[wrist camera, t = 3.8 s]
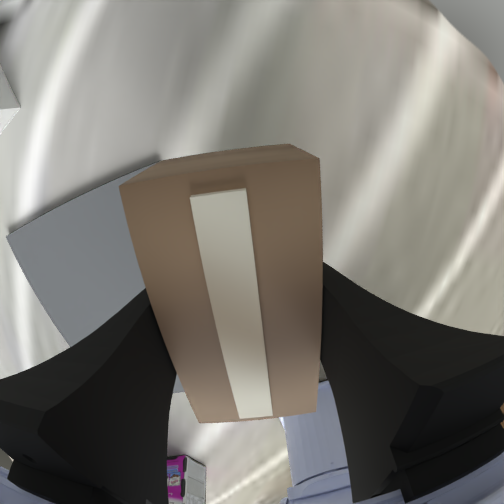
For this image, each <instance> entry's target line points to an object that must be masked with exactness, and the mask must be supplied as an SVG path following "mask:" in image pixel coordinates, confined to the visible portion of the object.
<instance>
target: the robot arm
mask: <svg viewBox="0 0 504 504" xmlns="http://www.w3.org/2000/svg"><path fill="white" fill-rule="evenodd" d="M320 360H321V362H322V365H323V368H324V370H325V373H326V376H327V378H328V381H324V382H321V383H318V396H317V408H316V412H313V413H307V414H301V415H294V416H287V417H279V419H280V421H281V423H282V425H283V428H284V430H285V434H286V442H287V449H288V456H289V463H290V471H291V478H292V485H293V487H289V488H287V492H288V497H285V498H282V499H281V501H280V502H279V504H504V428H503V427H502V425H501V422H503V420H504V414H503V412H502V411H501V409H500V407H501V406H502V405H503V403H504V336H498V335H491V334H484V333H477V332H472V331H467V330H463V329H459V328H454V327H450V326H447V325H443V324H440V323H437V322H434V321H431V320H428V319H425V318H422V317H419V316H417V315H414V314H412V313H409V312H407V311H405V310H403V309H401V308H398V307H396V306H394V305H392V304H390V303H388V302H386V301H384V300H382V299H380V298H379V297H377V296H375V295H373V294H372V293H370V292H368V291H367V290H365V289H363V288H362V287H360V286H358V285H357V284H355V283H354V282H352V281H351V280H349V279H348V278H346V277H345V276H343V275H342V274H341V273H339V272H338V271H336V270H335V269H333V268H332V267H330V266H329V265H327V264H326V263H324V262H323V288H322V328H321V350H320ZM176 376H177V372H176V370H175V367H174V365H173V362H172V360H171V357H170V355H169V352H168V350H167V347H166V345H165V342H164V339H163V337H162V334H161V331H160V328H159V326H158V323H157V320H156V317H155V314H154V311H153V309H152V306H151V303H150V300H149V297H148V294H147V290H146V288H145V289H144V290H142V291H141V292H140V293H139V294H138V295H137V296H135V297H134V298H133V299H132V300H131V301H130V302H129V303H128V304H126V305H125V306H124V307H123V308H122V309H121V310H120V311H118V312H117V313H116V314H115V315H114V316H112V317H111V318H110V319H109V320H107V321H106V322H105V323H104V324H103V325H101V326H100V327H99V328H98V329H96V330H95V331H94V332H92V333H91V334H90V335H88V336H87V337H85V338H84V339H82V340H81V341H79V342H78V343H76V344H75V345H73V346H72V347H70V348H68V349H66V350H65V351H63V352H61V353H59V354H58V355H56V356H54V357H52V358H51V359H49V360H47V361H45V362H43V363H41V364H39V365H37V366H34V367H32V368H30V369H28V370H25V371H23V372H20V373H18V374H15V375H12V376H9V377H6V378H3V379H0V448H1V449H2V450H3V451H4V452H6V453H7V454H8V455H9V456H10V457H11V458H12V459H14V460H13V463H12V466H11V468H10V471H9V470H7V469H5V468H3V467H1V466H0V504H169V500H168V486H167V437H168V421H169V410H170V404H171V399H172V394H173V389H174V385H175V380H176Z"/></svg>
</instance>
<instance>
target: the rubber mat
mask: <svg viewBox="0 0 504 504" xmlns="http://www.w3.org/2000/svg"><path fill="white" fill-rule="evenodd" d="M156 163H158V162H156ZM156 163H154V164H156ZM154 164H151V165H148V166H146V167H143V168H141V169H139V170H136V171H134V172H131V173H129V174H127V175H124V176H122V177H120V178H117V179H115V180H113V181H110V182H108V183H106V184H104V185H102V186H99V187H97V188H95V189H93V190H91V191H89V192H87V193H85V194H82V195H80V196H78V197H76V198H74V199H72V200H70V201H68V202H66V203H64V204H62V205H61V206H59V207H57V208H55V209H53V210H51V211H49V212H47V213H45V214H44V215H42V216H40V217H38V218H36V219H35V220H33V221H31V222H29V223H28V224H26V225H24V226H22V227H21V228H19V229H17V230H16V231H14V232H12V233H11V234H9V235H8V236H6V238H7V240H8V243H9V245H10V247H11V249H12V251H13V253H14V255H15V257H16V259H17V261H18V263H19V265H20V267H21V269H22V271H23V273H24V274H25V276H26V278H27V280H28V282H29V284H30V285H31V287H32V289H33V291H34V292H35V294H36V296H37V297H38V299H39V301H40V302H41V304H42V306H43V307H44V309H45V310H46V312H47V314H48V315H49V317H50V318H51V320H52V321H53V323H54V324H55V326H56V327H57V329H58V330H59V332H60V333H61V335H62V336H63V337H64V339H65V340H66V342H67V343H68V344H69V346H70V347H72V346H73V345H75V344H76V343H78V342H79V341H81V340H82V339H84V338H85V337H87V336H88V335H90V334H91V333H92V332H94V331H95V330H96V329H98V328H99V327H100V326H101V325H103V324H104V323H105V322H106V321H107V320H109V319H110V318H111V317H112V316H114V315H115V314H116V313H117V312H118V311H120V310H121V309H122V308H123V307H124V306H125V305H126V304H128V303H129V302H130V301H131V300H132V299H133V298H134V297H135V296H137V295H138V294H139V293H140V292H141V291H142V290H144V289H145V288H146V287H145V284H144V281H143V278H142V275H141V271H140V268H139V265H138V261H137V258H136V254H135V251H134V247H133V243H132V240H131V236H130V232H129V228H128V224H127V220H126V216H125V212H124V208H123V204H122V200H121V195H120V191H119V186H120V185H121V184H123V183H124V182H126V181H128V180H129V179H131V178H132V177H134V176H136V175H137V174H139V173H141V172H142V171H144V170H146V169H148V168H149V167H151V166H153V165H154ZM179 392H185V391H184V389H183V386H182V384H181V382H180V379H179V377H178V375H177V376H176V380H175V385H174V389H173V393H179Z"/></svg>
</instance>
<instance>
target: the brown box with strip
mask: <svg viewBox="0 0 504 504" xmlns="http://www.w3.org/2000/svg"><path fill="white" fill-rule="evenodd" d="M119 191H120V195H121V200H122V204H123V208H124V212H125V216H126V220H127V224H128V228H129V232H130V236H131V240H132V243H133V247H134V251H135V254H136V258H137V261H138V265H139V268H140V271H141V275H142V278H143V281H144V284H145V287H146V290H147V294H148V297H149V300H150V303H151V306H152V309H153V311H154V314H155V317H156V320H157V323H158V326H159V328H160V331H161V334H162V337H163V339H164V342H165V345H166V347H167V350H168V352H169V355H170V357H171V360H172V362H173V365H174V367H175V370H176V372H177V375H178V377H179V379H180V382H181V384H182V386H183V389H184V391H185V393H186V396H187V398H188V400H189V402H190V405H191V407H192V409H193V411H194V413H195V415H196V418H197V420H198V422H199V423H220V422H238V421H251V420H261V419H271V418H279V417H287V416H294V415H301V414H307V413H313V412H316V408H317V396H318V383H319V368H320V350H321V328H322V288H323V241H322V202H321V179H320V161H319V158H317V157H315V156H313V155H311V154H309V153H307V152H305V151H303V150H301V149H299V148H297V147H295V146H293V145H291V144H280V145H269V146H259V147H250V148H241V149H233V150H225V151H218V152H211V153H204V154H198V155H191V156H185V157H180V158H174V159H168V160H163V161H160V162H158V163H156V164H154V165H153V166H151V167H149V168H148V169H146V170H144V171H142V172H141V173H139V174H137V175H136V176H134V177H132V178H131V179H129V180H128V181H126V182H124V183H123V184H121V185H120V186H119Z"/></svg>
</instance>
